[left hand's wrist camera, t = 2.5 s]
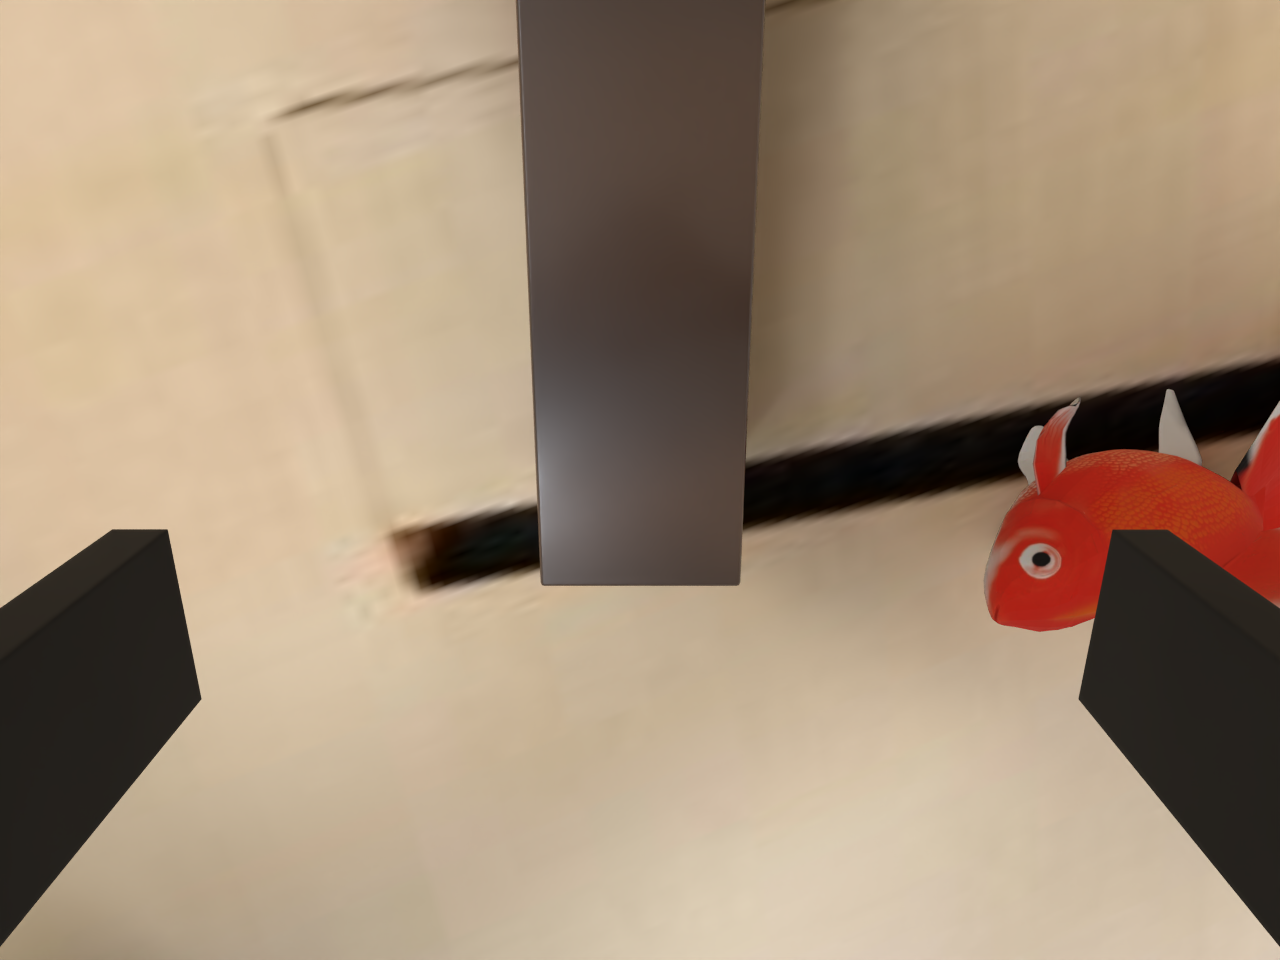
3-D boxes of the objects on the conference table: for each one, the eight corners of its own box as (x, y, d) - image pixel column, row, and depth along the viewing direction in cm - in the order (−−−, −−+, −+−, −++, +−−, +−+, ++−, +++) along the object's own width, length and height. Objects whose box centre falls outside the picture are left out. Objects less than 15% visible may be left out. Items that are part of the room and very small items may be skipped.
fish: (945, 267, 22) (1332, 494, 16) (1323, 184, 28) (1731, 324, 21) (866, 569, 29) (1111, 823, 22) (1184, 454, 35) (1459, 627, 28)
